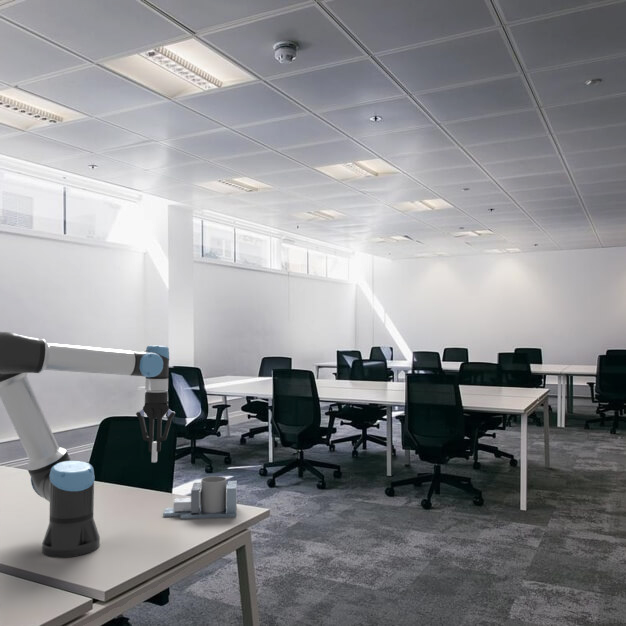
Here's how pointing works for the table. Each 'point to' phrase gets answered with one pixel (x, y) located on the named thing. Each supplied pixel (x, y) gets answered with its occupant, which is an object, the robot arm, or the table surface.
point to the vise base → (228, 512)
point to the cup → (213, 494)
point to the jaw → (189, 500)
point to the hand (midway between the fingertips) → (154, 461)
